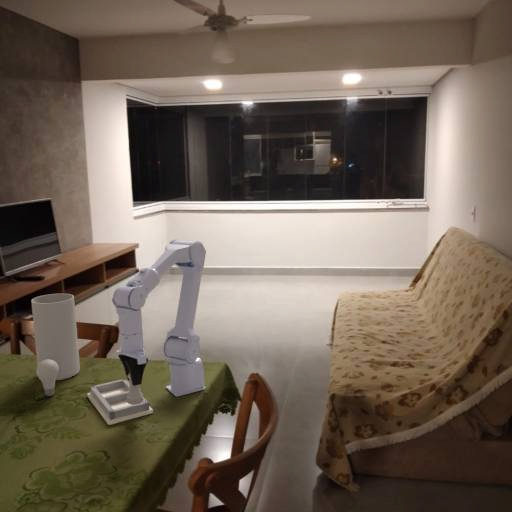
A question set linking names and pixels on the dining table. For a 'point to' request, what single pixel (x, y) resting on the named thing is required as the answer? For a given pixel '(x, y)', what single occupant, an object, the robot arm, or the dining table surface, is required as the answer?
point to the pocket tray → (116, 402)
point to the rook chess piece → (134, 393)
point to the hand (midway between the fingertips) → (134, 382)
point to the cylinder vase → (56, 332)
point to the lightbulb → (48, 375)
